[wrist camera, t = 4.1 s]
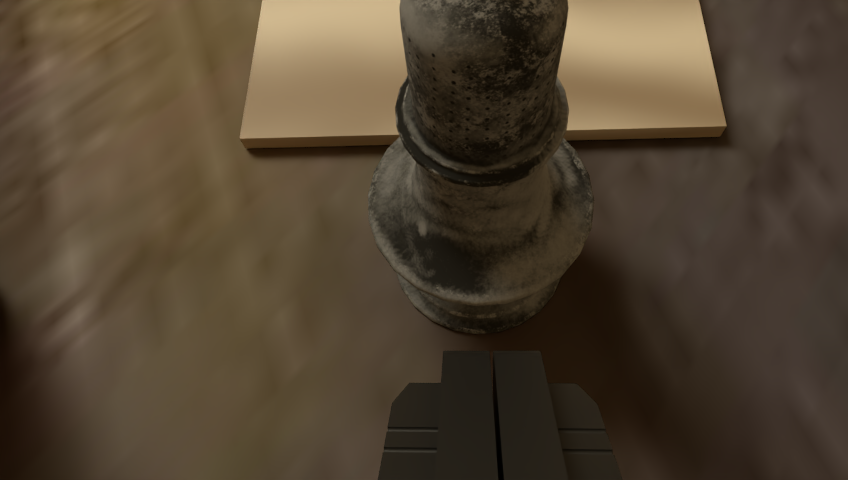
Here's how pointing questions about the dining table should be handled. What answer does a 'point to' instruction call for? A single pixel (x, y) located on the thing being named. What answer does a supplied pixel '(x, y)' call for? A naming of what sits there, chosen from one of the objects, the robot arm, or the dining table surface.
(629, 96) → the birch board
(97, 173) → the dining table surface
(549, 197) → the grey chess piece
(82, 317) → the dining table surface
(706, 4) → the dining table surface
